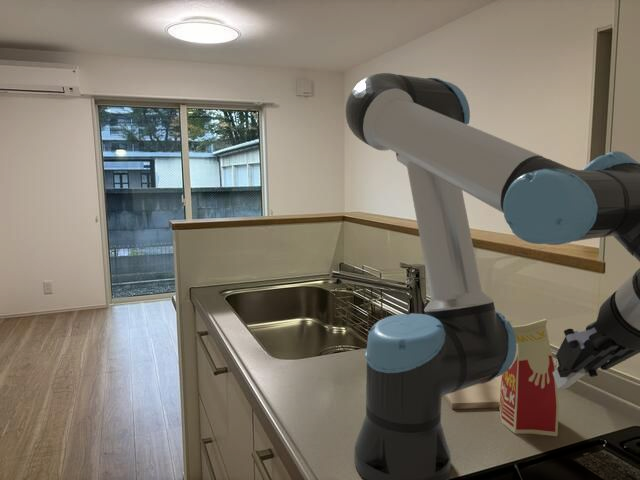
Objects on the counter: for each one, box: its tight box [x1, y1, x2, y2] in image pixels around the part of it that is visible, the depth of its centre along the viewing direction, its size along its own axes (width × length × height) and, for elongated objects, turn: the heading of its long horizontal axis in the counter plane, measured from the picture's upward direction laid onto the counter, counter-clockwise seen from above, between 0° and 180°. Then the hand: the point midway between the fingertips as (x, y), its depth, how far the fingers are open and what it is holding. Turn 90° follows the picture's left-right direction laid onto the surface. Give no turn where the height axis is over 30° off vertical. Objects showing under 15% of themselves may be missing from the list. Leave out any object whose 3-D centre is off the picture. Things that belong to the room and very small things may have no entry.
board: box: [442, 375, 502, 410], centre depth 102 cm, size 18×16×1 cm
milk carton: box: [498, 318, 560, 437], centre depth 87 cm, size 9×9×20 cm
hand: (559, 380), depth 77 cm, fingers closed
